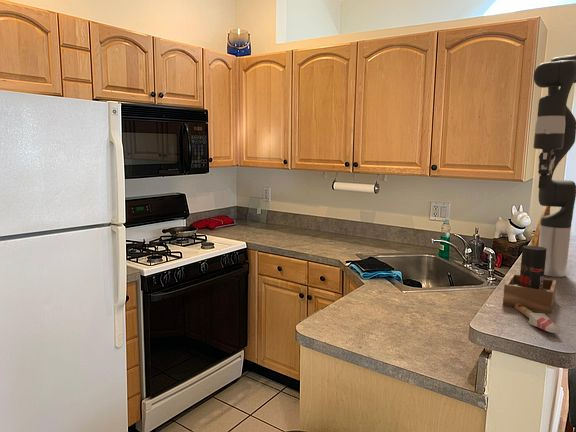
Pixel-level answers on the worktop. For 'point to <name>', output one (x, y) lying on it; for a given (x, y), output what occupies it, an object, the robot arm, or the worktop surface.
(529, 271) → the deodorant
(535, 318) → the paintbrush
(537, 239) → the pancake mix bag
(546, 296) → the walled box
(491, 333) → the worktop surface
